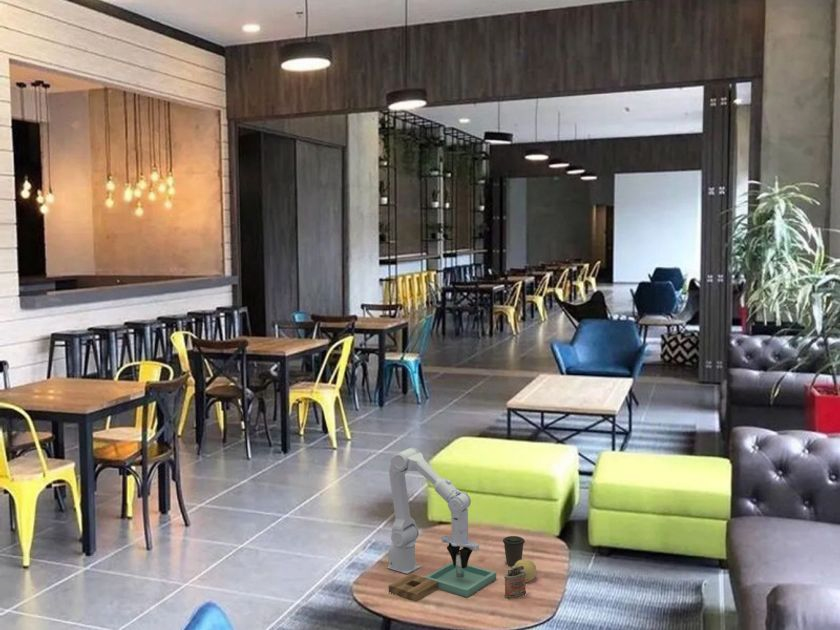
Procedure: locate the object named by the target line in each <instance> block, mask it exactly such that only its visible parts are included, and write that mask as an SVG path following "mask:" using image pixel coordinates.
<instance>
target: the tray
mask: <svg viewBox="0 0 840 630" xmlns="http://www.w3.org/2000/svg"><path fill="white" fill-rule="evenodd" d="M423 577H424V578H427V579H430V580H434V581H437V582H438V589H437V590H441V591H444V592H447V593H450V594H453V595H457V596H460V597H463V598H466V599H467V598H469V597H471V596H473V595H474V594H476V593H478V592H479V591H480V590H482V589H484V588H485V587H487V586H488V584H489V585H490V584H491V582H492V583H494V580H495V581H496V580H497V572H496V571H492V570H489V569H486V568H483V567H478V566H475V565H471V564H467V567H466V568H464V577H463V578H458V577H456V566H454V564H453V561H451V562H450V563H447V564H446V565H444V566H442V567H440V568H439V569H437V570H434V571H433V572H431V573H429V574H428V575H426V576H423Z"/></svg>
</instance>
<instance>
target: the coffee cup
mask: <svg viewBox="0 0 840 630" xmlns="http://www.w3.org/2000/svg"><path fill="white" fill-rule="evenodd" d="M525 542H526V541H525V539H524V538H523V537H522V536H517V535H516V536H515V535H509V536H506V537H504V538H503V539H502V543H503V546H504V555H505V561H506V562H505V563H506V566H507V565H508V567H509V566H511V567H512V566H514V565H515V563H516V562H517V561H519V560H522V559H523V551H524V544H525ZM511 567H510V568H511Z"/></svg>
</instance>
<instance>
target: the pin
mask: <svg viewBox="0 0 840 630" xmlns="http://www.w3.org/2000/svg"><path fill="white" fill-rule="evenodd" d="M456 577H458V578H463V577H464V569H463V568H462V560H461V554H460V552H457V553H456Z"/></svg>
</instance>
